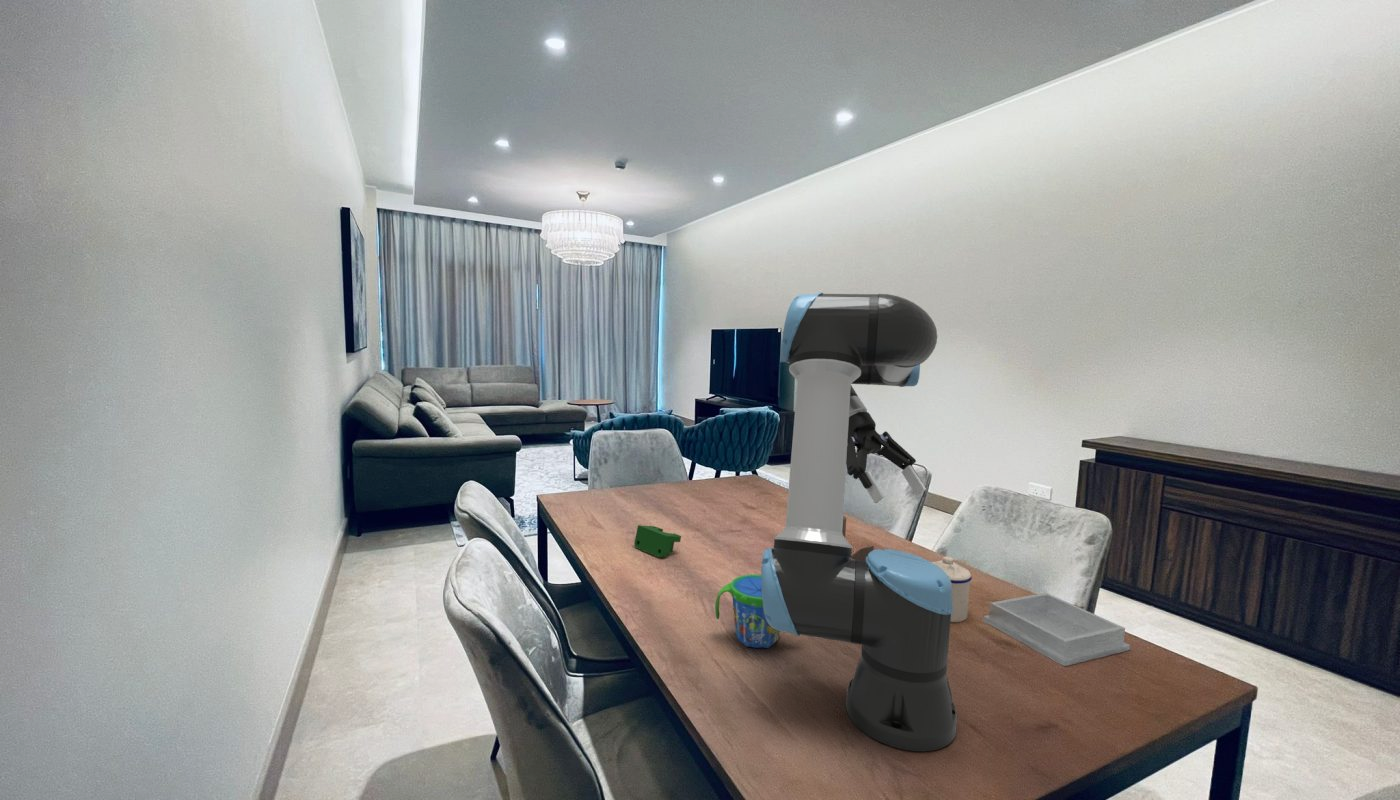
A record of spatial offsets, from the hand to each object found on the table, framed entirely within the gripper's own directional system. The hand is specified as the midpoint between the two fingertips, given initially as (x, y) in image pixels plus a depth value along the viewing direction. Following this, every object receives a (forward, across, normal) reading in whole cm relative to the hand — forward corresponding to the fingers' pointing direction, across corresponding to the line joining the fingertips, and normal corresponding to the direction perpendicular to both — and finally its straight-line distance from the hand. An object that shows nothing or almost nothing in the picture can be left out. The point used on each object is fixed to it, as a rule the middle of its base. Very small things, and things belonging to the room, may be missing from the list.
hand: (901, 496), depth 125 cm
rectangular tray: (+35, -10, +5) cm, 37 cm away
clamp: (-16, +37, -47) cm, 62 cm away
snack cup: (+17, +41, -13) cm, 46 cm away
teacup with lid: (+23, +1, -7) cm, 24 cm away
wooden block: (+15, +16, -15) cm, 27 cm away
